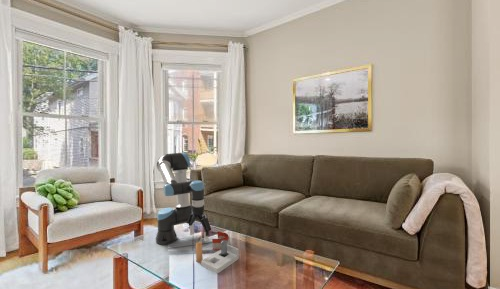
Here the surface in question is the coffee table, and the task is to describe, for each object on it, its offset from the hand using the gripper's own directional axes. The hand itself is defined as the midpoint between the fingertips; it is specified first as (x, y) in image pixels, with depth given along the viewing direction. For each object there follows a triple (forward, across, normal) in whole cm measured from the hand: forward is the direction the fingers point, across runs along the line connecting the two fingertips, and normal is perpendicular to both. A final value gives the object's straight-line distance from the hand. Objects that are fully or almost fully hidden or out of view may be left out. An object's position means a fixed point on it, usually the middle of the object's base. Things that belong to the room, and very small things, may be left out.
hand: (199, 237), depth 169 cm
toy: (+16, -1, +22) cm, 27 cm away
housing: (+16, +12, +7) cm, 21 cm away
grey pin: (+16, +11, +12) cm, 22 cm away
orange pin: (+16, 0, 0) cm, 16 cm away
